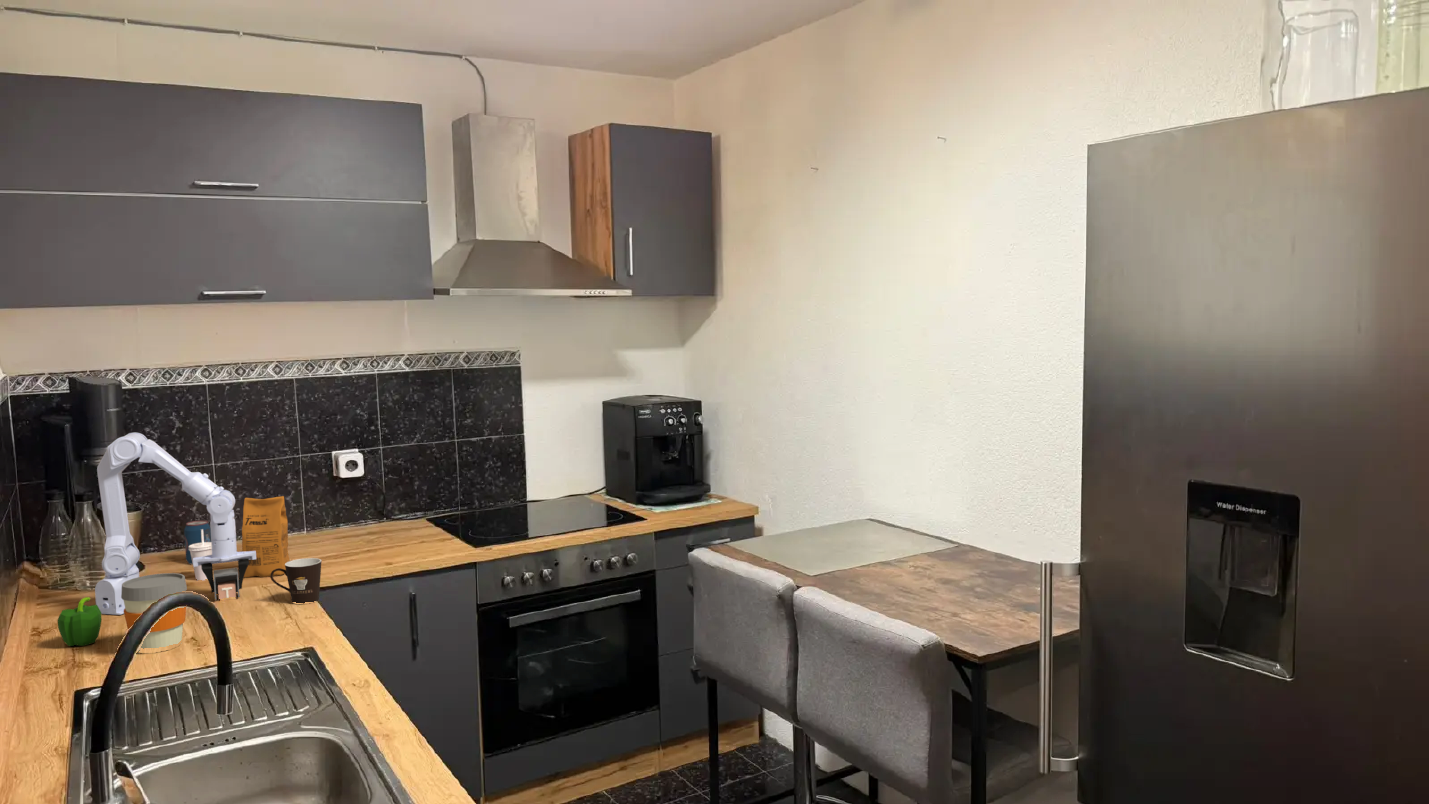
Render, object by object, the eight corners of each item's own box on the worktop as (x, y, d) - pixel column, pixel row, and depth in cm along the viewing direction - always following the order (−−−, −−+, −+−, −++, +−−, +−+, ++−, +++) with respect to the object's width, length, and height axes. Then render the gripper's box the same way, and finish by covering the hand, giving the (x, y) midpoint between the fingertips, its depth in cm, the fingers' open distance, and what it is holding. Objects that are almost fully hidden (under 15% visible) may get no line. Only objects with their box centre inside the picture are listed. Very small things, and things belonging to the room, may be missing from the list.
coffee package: (250, 569, 275) (245, 494, 273) (295, 567, 276) (290, 493, 274) (236, 579, 265) (232, 501, 263) (283, 577, 266) (278, 499, 264)
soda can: (189, 560, 286) (186, 521, 285) (214, 558, 289) (212, 519, 287) (184, 565, 280) (181, 525, 279) (210, 563, 282) (207, 523, 281)
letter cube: (236, 599, 246) (235, 584, 245) (219, 601, 244) (218, 586, 243) (235, 595, 249) (234, 580, 249) (218, 597, 247) (217, 582, 247)
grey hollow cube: (239, 597, 245) (238, 572, 245) (215, 600, 243) (213, 575, 242) (239, 591, 250) (237, 567, 250) (215, 594, 248) (213, 570, 247)
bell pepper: (72, 652, 208) (69, 607, 207) (52, 646, 212) (49, 602, 211) (112, 640, 215) (109, 597, 214) (92, 635, 219) (89, 592, 218)
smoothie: (205, 582, 262) (201, 532, 260) (185, 581, 263) (181, 531, 262) (221, 576, 268) (218, 527, 267) (201, 575, 269) (198, 526, 268)
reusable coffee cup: (111, 655, 205) (106, 588, 204) (153, 636, 217) (148, 572, 216) (164, 657, 203) (159, 589, 202) (203, 638, 216) (199, 573, 214)
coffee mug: (330, 596, 246) (328, 559, 245) (308, 606, 238) (306, 567, 237) (293, 594, 249) (290, 556, 248) (269, 603, 241) (267, 565, 240)
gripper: (191, 545, 238) (194, 597, 240) (255, 538, 245) (258, 589, 246) (191, 539, 245) (195, 590, 246) (254, 532, 251) (257, 582, 252)
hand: (226, 589), depth 246 cm, fingers closed on grey hollow cube, 6 cm apart
